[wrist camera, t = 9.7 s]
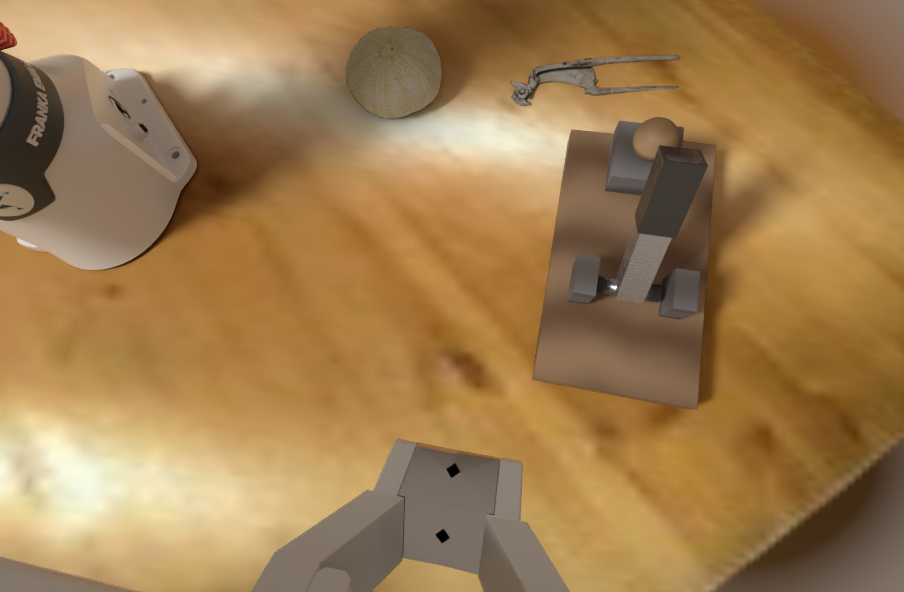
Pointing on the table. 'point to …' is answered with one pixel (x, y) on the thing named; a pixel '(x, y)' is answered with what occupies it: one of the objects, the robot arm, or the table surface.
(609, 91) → the nutcracker
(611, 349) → the nutcracker bench
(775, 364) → the table surface
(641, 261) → the lever
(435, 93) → the sea urchin shell
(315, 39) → the table surface
